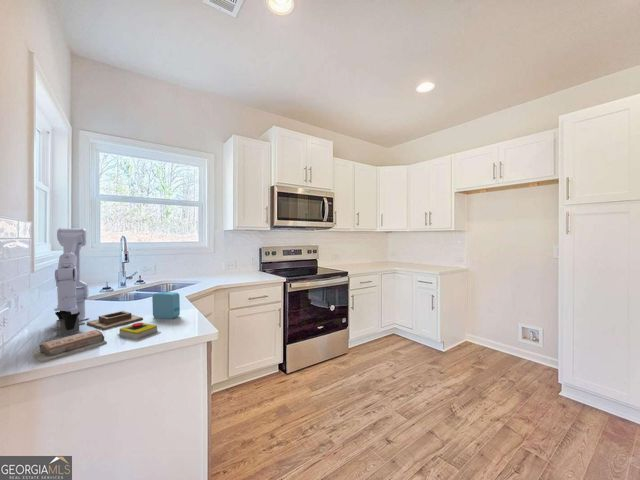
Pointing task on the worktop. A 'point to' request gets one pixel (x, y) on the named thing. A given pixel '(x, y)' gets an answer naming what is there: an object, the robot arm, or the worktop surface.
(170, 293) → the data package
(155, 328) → the emergency button
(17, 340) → the worktop surface
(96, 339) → the packaged product
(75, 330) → the servo block
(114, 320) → the dock
